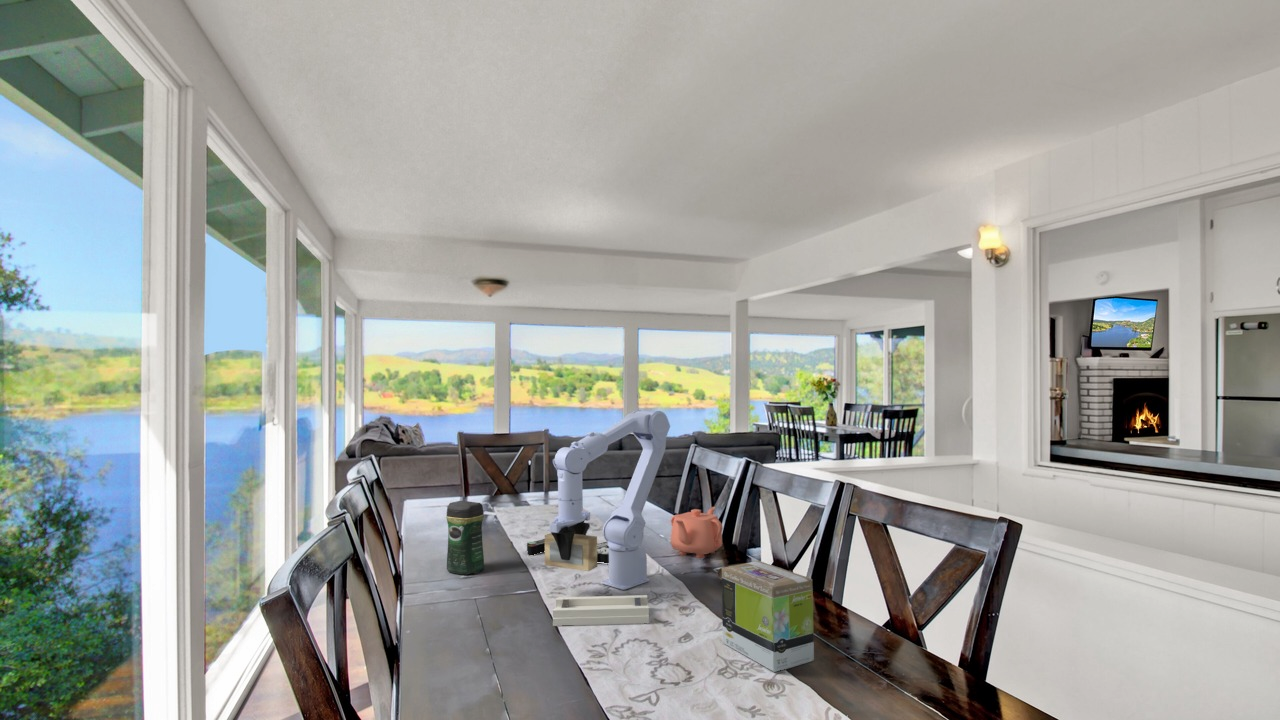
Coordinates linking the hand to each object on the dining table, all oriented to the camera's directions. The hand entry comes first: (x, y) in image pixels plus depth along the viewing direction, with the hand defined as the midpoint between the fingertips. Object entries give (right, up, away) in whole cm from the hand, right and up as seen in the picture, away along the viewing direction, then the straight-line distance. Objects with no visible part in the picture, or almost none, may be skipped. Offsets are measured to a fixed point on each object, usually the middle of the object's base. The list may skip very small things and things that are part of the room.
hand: (571, 556), depth 150 cm
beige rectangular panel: (0, -2, 0) cm, 2 cm away
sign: (-1, -11, +36) cm, 37 cm away
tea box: (+40, -8, -31) cm, 51 cm away
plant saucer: (+44, -10, +7) cm, 46 cm away
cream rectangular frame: (+8, -9, -13) cm, 17 cm away
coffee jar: (-31, -11, +22) cm, 39 cm away
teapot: (+33, -10, +36) cm, 50 cm away
